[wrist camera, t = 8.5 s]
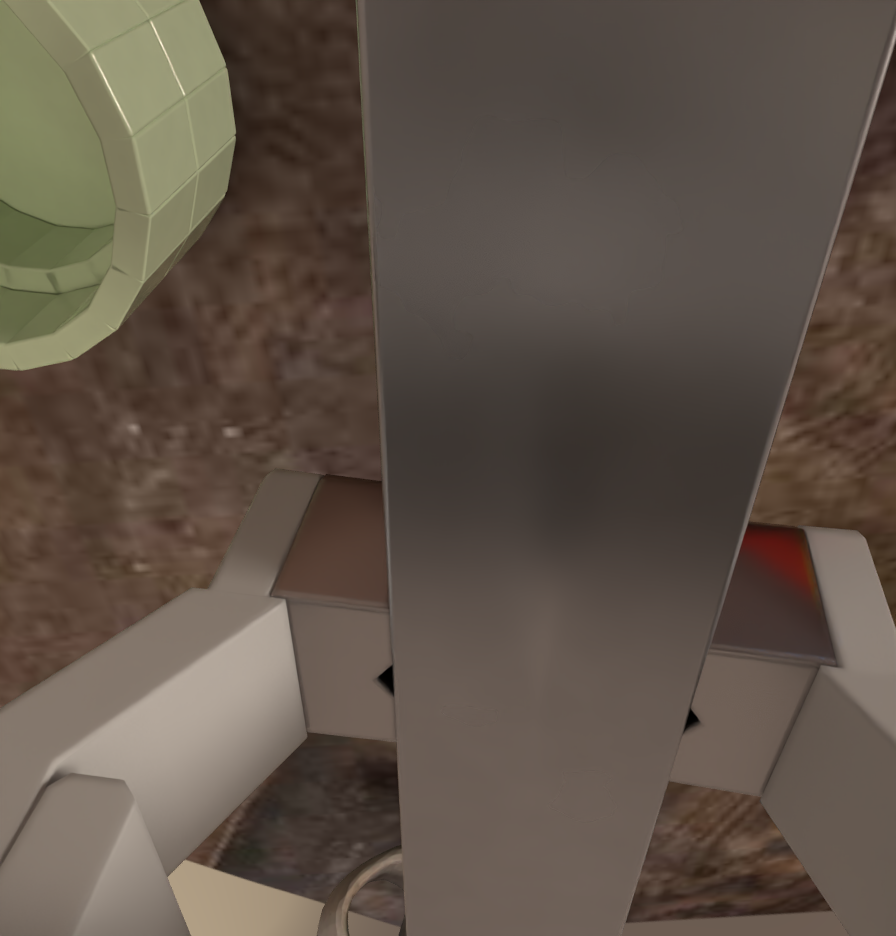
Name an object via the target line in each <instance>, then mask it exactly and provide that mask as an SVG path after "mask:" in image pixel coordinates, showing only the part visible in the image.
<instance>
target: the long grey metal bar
mask: <svg viewBox="0 0 896 936" xmlns="http://www.w3.org/2000/svg"><path fill="white" fill-rule="evenodd" d="M356 14H357V32H358V51H359V69H360V88H361V106H362V125H363V143H364V161H365V180H366V198H367V217H368V235H369V253H370V272H371V290H372V309H373V327H374V346H375V364H376V382H377V401H378V419H379V438H380V456H381V474H382V493H383V511H384V530H385V548H386V567H387V585H388V603H389V609H390V626H391V645H392V663H393V664H392V677H393V693H394V701H395V720H396V739H397V742H396V751H397V769H398V788H399V806H400V824H401V843H402V861H403V880H404V898H405V916H406V935H407V936H621V935H622V931H623V928H624V925H625V922H626V918H627V915H628V912H629V909H630V905H631V902H632V899H633V896H634V892H635V889H636V886H637V883H638V879H639V876H640V873H641V870H642V866H643V863H644V860H645V857H646V853H647V850H648V847H649V844H650V840H651V837H652V834H653V831H654V827H655V824H656V821H657V818H658V814H659V811H660V808H661V805H662V801H663V798H664V795H665V792H666V788H667V785H668V782H669V781H668V780H669V777H670V774H671V770H672V767H673V764H674V761H675V757H676V754H677V751H678V748H679V744H680V741H681V738H682V735H683V732H684V729H685V727H686V723H687V720H688V717H689V714H690V710H691V705H692V702H693V699H694V695H695V692H696V689H697V686H698V682H699V679H700V676H701V673H702V669H703V666H704V663H705V660H706V656H707V653H708V650H709V647H710V645H711V642H712V639H713V636H714V632H715V629H716V626H717V623H718V619H719V616H720V613H721V610H722V606H723V603H724V600H725V597H726V593H727V590H728V587H729V584H730V580H731V577H732V574H733V571H734V567H735V564H736V561H737V558H738V554H739V551H740V548H741V545H742V541H743V538H744V535H745V532H746V528H747V525H748V522H749V519H750V515H751V512H752V509H753V506H754V502H755V499H756V496H757V493H758V489H759V486H760V483H761V480H762V476H763V473H764V470H765V467H766V463H767V460H768V457H769V454H770V450H771V447H772V444H773V441H774V437H775V434H776V431H777V428H778V424H779V421H780V418H781V415H782V411H783V408H784V405H785V402H786V398H787V395H788V392H789V389H790V385H791V382H792V379H793V376H794V372H795V369H796V366H797V363H798V359H799V356H800V353H801V350H802V346H803V343H804V340H805V337H806V333H807V330H808V327H809V324H810V320H811V317H812V314H813V311H814V307H815V304H816V301H817V298H818V294H819V291H820V288H821V285H822V281H823V278H824V275H825V272H826V268H827V265H828V262H829V259H830V255H831V252H832V249H833V246H834V242H835V239H836V236H837V233H838V229H839V226H840V223H841V220H842V216H843V213H844V210H845V207H846V203H847V200H848V197H849V194H850V190H851V187H852V184H853V181H854V177H855V174H856V171H857V168H858V164H859V161H860V158H861V155H862V151H863V148H864V145H865V142H866V138H867V135H868V132H869V129H870V125H871V122H872V119H873V116H874V112H875V109H876V106H877V103H878V99H879V96H880V93H881V90H882V86H883V83H884V80H885V77H886V73H887V70H888V67H889V64H890V60H891V57H892V54H893V51H894V47H895V44H896V0H356Z"/></svg>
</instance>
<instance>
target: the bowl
mask: <svg viewBox="0 0 896 936" xmlns="http://www.w3.org/2000/svg"><path fill="white" fill-rule="evenodd" d="M225 67H226V63H225V61H224V58H223V56H222V53H221V51H220V49H219V46H218V44H217V42H216V39H215V37H214V34H213V32H212V30H211V27H210V25H209V23H208V20H207V18H206V15H205V13H204V11H203V8H202V6H201V4H200V1H199V0H0V369H6V370H15V371H16V370H20V371H23V370H28V369H32V368H37V367H42V366H47V365H51V364H56V363H61V362H66V361H71V360H73V359H75V358H78V357H79V356H81V355H82V354H83V353H85V352H86V351H88V350H89V349H91V348H92V347H94V346H95V345H96V344H98V343H99V342H101V341H102V340H104V339H105V338H106V337H108V336H109V335H111V334H112V333H114V332H115V331H116V330H117V329H118V328H119V327H120V326H121V325H122V324H123V323H124V322H125V321H126V319H127V318H128V317H129V316H130V315H131V314H132V313H133V312H134V311H135V309H136V308H137V307H138V306H139V305H140V304H141V303H142V302H143V300H144V299H145V298H146V297H147V296H148V295H149V294H150V293H151V292H152V290H153V289H154V288H155V287H156V286H157V285H158V284H159V283H160V282H161V280H162V279H163V278H164V277H165V276H166V275H167V274H168V272H169V271H170V270H171V269H172V268H173V267H174V266H175V265H176V263H177V262H178V261H179V260H180V259H181V258H182V257H183V256H184V255H185V253H186V252H187V251H188V250H189V249H190V248H191V247H192V246H193V245H194V243H195V242H196V241H197V240H198V239H199V238H200V237H201V235H202V234H203V232H204V231H205V229H206V227H207V225H208V224H209V222H210V220H211V219H212V217H213V215H214V214H215V212H216V210H217V209H218V207H219V205H220V204H221V202H222V200H223V199H224V197H225V193H226V192H227V188H228V182H229V176H230V170H231V165H232V159H233V153H234V147H235V141H236V136H235V135H236V129H235V121H234V114H233V107H232V99H231V92H230V85H229V78H228V70H227V68H225Z"/></svg>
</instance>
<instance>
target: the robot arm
mask: <svg viewBox="0 0 896 936" xmlns="http://www.w3.org/2000/svg"><path fill="white" fill-rule="evenodd" d="M392 664H393V663H392V645H391V626H390V609H389V603H388V585H387V567H386V548H385V530H384V511H383V493H382V481H376V480H368V479H360V478H353V477H345V476H337V475H330V474H326V475H321V474H315V473H307V472H299V471H292V470H284V469H274V470H273V471H272V472H270V473H269V474H268V475H267V476H266V477H265V478H264V479H263V481H262V483H261V485H260V487H259V489H258V491H257V493H256V495H255V497H254V499H253V501H252V503H251V505H250V507H249V509H248V511H247V512H246V514H245V516H244V518H243V520H242V522H241V524H240V526H239V528H238V530H237V532H236V534H235V536H234V538H233V540H232V542H231V544H230V546H229V548H228V550H227V552H226V554H225V556H224V558H223V560H222V561H221V563H220V565H219V567H218V569H217V571H216V573H215V575H214V577H213V579H212V581H211V583H210V585H209V587H208V589H200V588H190V589H189V590H187V591H185V592H184V593H182V594H181V595H179V596H177V597H176V598H174V599H173V600H171V601H169V602H168V603H166V604H165V605H163V606H162V607H160V608H158V609H157V610H155V611H154V612H152V613H150V614H149V615H147V616H146V617H144V618H142V619H141V620H139V621H138V622H136V623H135V624H133V625H131V626H130V627H128V628H127V629H125V630H123V631H122V632H120V633H119V634H117V635H115V636H114V637H112V638H111V639H109V640H107V641H106V642H104V643H103V644H101V645H100V646H98V647H96V648H95V649H93V650H92V651H90V652H88V653H87V654H85V655H84V656H82V657H80V658H79V659H77V660H76V661H74V662H73V663H71V664H69V665H68V666H66V667H65V668H63V669H61V670H60V671H58V672H57V673H55V674H53V675H52V676H50V677H49V678H47V679H46V680H44V681H42V682H41V683H39V684H38V685H36V686H34V687H33V688H31V689H30V690H28V691H26V692H25V693H23V694H22V695H20V696H18V697H17V698H15V699H14V700H12V701H11V702H9V703H7V704H6V705H4V706H3V707H1V708H0V936H191V935H190V932H189V930H188V927H187V925H186V922H185V920H184V917H183V915H182V913H181V910H180V908H179V905H178V903H177V901H176V898H175V895H174V893H173V891H172V888H171V886H170V883H169V881H168V878H167V877H168V876H169V875H170V874H171V873H172V872H173V871H174V870H175V869H176V868H177V867H178V866H179V865H180V864H181V863H182V862H183V861H184V860H185V859H186V858H187V857H188V856H189V855H190V854H191V853H192V852H193V851H194V850H195V849H196V848H197V847H198V846H199V845H200V844H201V843H202V842H203V841H204V840H205V839H206V838H207V837H208V836H209V835H210V834H211V833H212V832H213V831H214V830H215V829H216V828H217V827H218V826H219V825H220V824H221V823H222V822H223V821H224V820H225V819H226V818H227V817H228V816H229V815H230V814H231V813H232V812H233V811H234V810H235V809H236V808H237V807H238V806H239V805H240V804H241V803H242V802H243V801H244V800H245V799H246V798H247V797H248V796H249V795H250V794H251V793H252V792H253V791H254V790H255V789H256V788H257V787H258V786H259V785H260V784H261V783H262V782H263V781H264V780H265V779H266V778H267V777H268V776H269V775H270V774H271V773H272V772H273V771H274V770H275V769H276V768H277V767H278V766H279V765H280V764H281V763H282V762H283V761H284V760H285V759H286V758H287V757H288V756H289V755H290V754H291V753H292V752H293V751H294V750H295V749H296V748H297V747H298V746H299V745H300V744H301V743H302V742H303V741H304V740H305V739H306V738H307V732H312V733H321V734H330V735H339V736H347V737H356V738H365V739H373V740H382V741H391V742H397V739H396V720H395V701H394V693H393V677H392ZM668 781H671V782H677V783H683V784H689V785H695V786H701V787H707V788H713V789H719V790H724V791H730V792H736V793H742V794H748V795H754V796H760V797H761V799H760V802H761V804H762V805H763V807H764V808H765V810H766V811H767V813H768V814H769V816H770V817H771V819H772V820H773V822H774V823H775V825H776V826H777V828H778V829H779V831H780V832H781V834H782V835H783V837H784V838H785V840H786V841H787V843H788V844H789V846H790V847H791V849H792V850H793V852H794V853H795V855H796V856H797V858H798V859H799V861H800V862H801V864H802V865H803V867H804V868H805V870H806V871H807V873H808V874H809V876H810V877H811V879H812V880H813V882H814V883H815V885H816V886H817V888H818V889H819V891H820V892H821V894H822V895H823V897H824V898H825V900H826V901H827V903H828V904H829V906H830V907H831V909H832V910H833V912H834V913H835V915H836V916H837V918H838V919H839V921H840V922H841V924H842V925H843V927H844V928H845V930H846V931H847V933H848V934H849V936H896V628H895V625H894V622H893V619H892V616H891V613H890V610H889V607H888V604H887V601H886V598H885V596H884V593H883V590H882V587H881V584H880V581H879V578H878V575H877V572H876V569H875V566H874V563H873V560H872V557H871V554H870V551H869V548H868V545H867V542H866V539H865V538H864V537H863V536H862V535H861V534H860V533H859V532H858V531H857V530H846V529H834V528H823V527H812V526H800V525H799V526H798V527H795V526H789V525H779V524H769V523H759V522H748V525H747V528H746V532H745V535H744V538H743V541H742V545H741V548H740V551H739V554H738V558H737V561H736V564H735V567H734V571H733V574H732V577H731V580H730V584H729V587H728V590H727V593H726V597H725V600H724V603H723V606H722V610H721V613H720V616H719V619H718V623H717V626H716V629H715V632H714V636H713V639H712V642H711V645H710V647H709V650H708V653H707V656H706V660H705V663H704V666H703V669H702V673H701V676H700V679H699V682H698V686H697V689H696V692H695V695H694V699H693V702H692V705H691V710H690V714H689V717H688V720H687V723H686V727H685V729H684V732H683V735H682V738H681V741H680V744H679V748H678V751H677V754H676V757H675V761H674V764H673V767H672V770H671V774H670V777H669V780H668Z"/></svg>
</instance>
